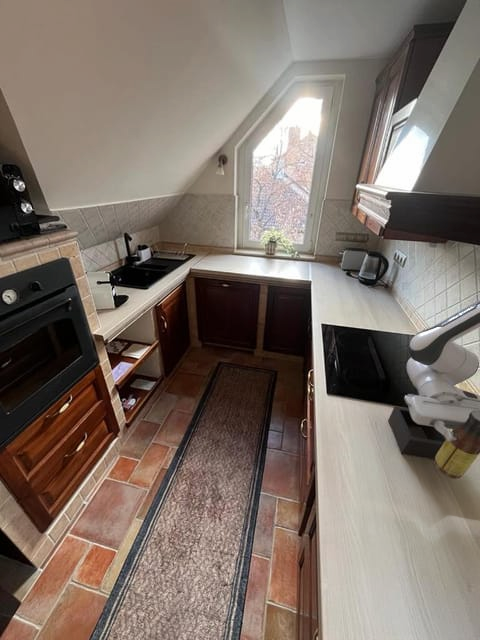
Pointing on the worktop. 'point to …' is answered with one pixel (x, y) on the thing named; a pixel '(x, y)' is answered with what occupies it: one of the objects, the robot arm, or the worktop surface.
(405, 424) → the caddy
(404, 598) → the worktop surface
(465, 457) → the sauce bottle
